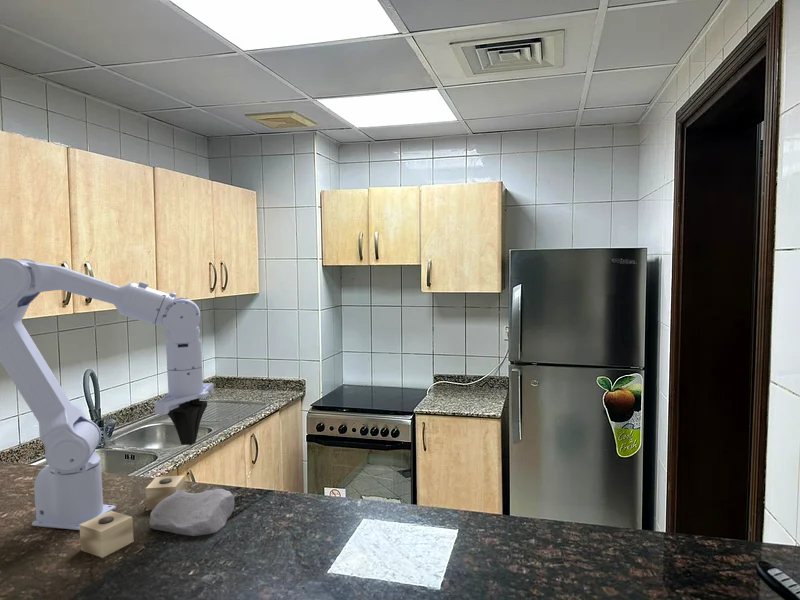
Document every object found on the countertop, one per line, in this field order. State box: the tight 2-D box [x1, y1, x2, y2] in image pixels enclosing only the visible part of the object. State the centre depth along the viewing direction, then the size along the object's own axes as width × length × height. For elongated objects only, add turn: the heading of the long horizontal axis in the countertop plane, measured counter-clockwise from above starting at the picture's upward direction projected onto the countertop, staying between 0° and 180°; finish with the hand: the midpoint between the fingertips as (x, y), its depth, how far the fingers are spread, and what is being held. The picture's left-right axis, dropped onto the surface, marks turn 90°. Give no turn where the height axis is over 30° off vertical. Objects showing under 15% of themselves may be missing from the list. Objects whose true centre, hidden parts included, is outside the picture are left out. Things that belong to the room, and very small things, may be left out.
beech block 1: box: [79, 510, 134, 559], centre depth 80 cm, size 5×5×4 cm
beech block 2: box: [145, 475, 186, 511], centre depth 94 cm, size 5×5×4 cm
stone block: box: [148, 488, 235, 537], centre depth 87 cm, size 12×5×10 cm
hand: (188, 443), depth 94 cm, fingers closed
